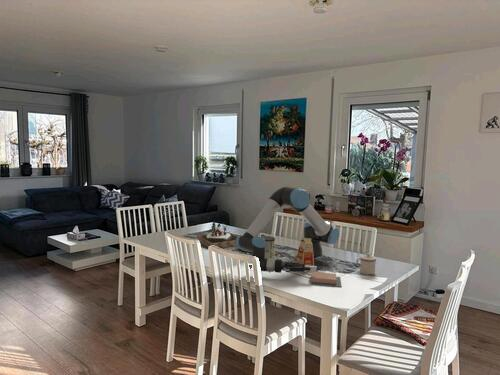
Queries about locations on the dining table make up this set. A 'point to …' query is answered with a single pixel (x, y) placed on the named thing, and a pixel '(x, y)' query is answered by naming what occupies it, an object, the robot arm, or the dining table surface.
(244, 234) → the robot arm
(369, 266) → the teacup with lid
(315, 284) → the mat
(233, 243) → the diorama tray
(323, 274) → the tile
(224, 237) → the miniature diorama
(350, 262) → the dining table surface
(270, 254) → the coffee can
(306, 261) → the milk carton
